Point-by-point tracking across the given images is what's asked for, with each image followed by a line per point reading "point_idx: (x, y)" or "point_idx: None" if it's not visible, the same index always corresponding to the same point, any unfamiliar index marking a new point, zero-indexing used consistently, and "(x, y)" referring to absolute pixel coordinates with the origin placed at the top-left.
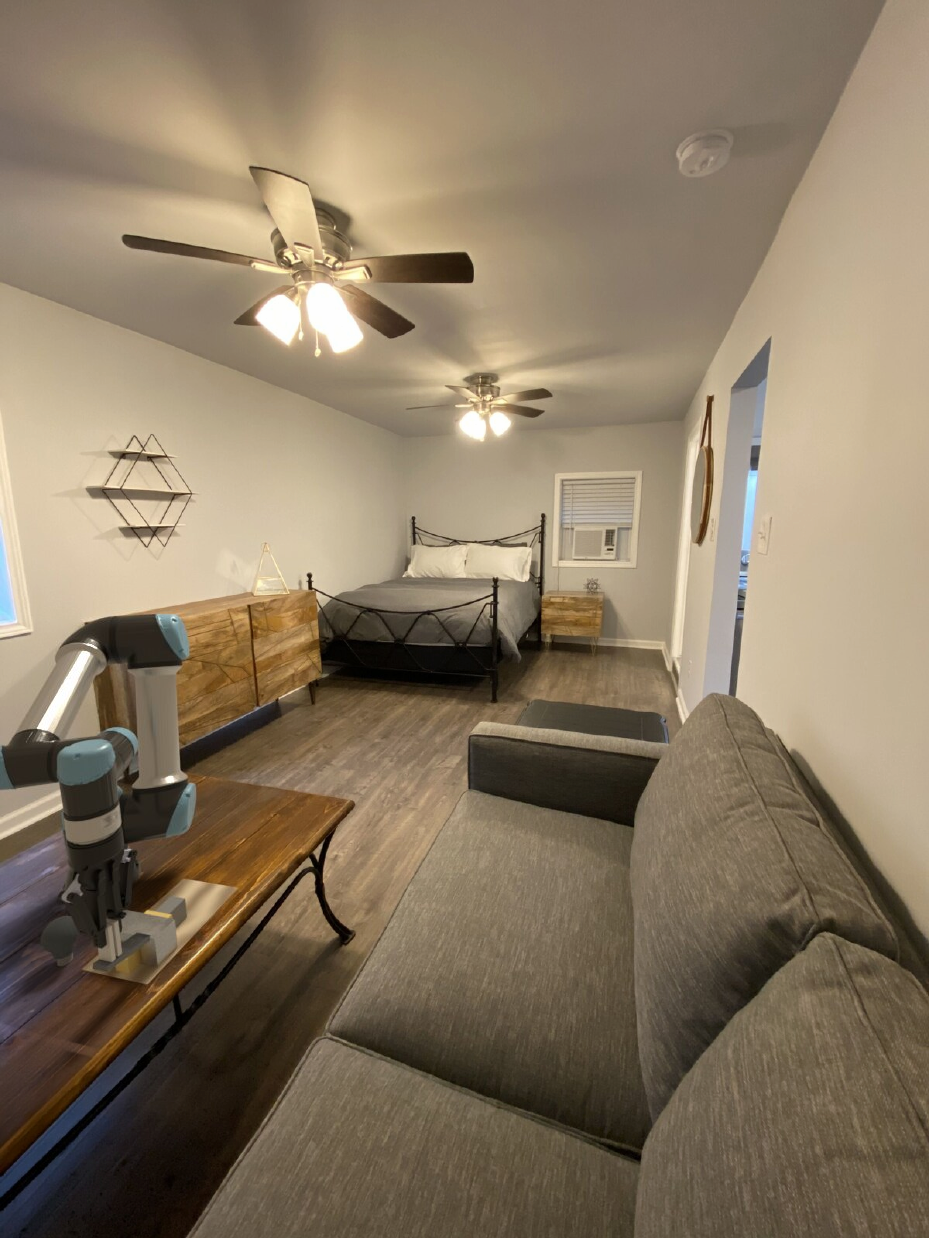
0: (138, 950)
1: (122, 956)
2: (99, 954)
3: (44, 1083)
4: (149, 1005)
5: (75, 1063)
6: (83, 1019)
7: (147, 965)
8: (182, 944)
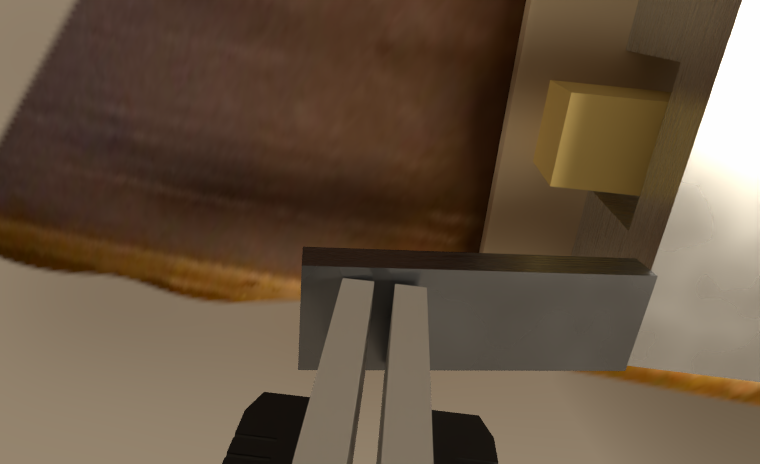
0: (623, 192)
1: None
2: (336, 305)
3: (93, 173)
4: None
5: (173, 221)
6: (316, 108)
7: (580, 213)
8: None
